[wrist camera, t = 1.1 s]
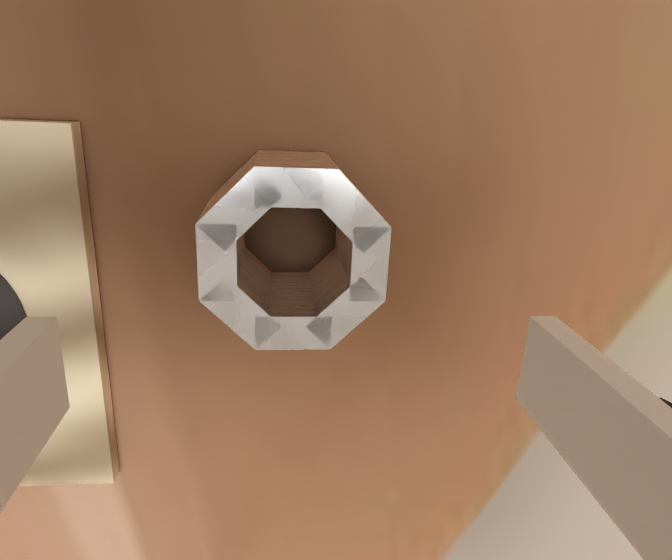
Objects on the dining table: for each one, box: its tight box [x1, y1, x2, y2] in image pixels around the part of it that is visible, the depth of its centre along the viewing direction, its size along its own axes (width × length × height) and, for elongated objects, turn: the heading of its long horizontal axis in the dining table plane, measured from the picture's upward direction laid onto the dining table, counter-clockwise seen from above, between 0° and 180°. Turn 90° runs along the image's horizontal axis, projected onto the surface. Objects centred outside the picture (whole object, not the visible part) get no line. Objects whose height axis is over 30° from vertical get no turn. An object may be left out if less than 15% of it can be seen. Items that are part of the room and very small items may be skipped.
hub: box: [195, 150, 392, 350], centre depth 25 cm, size 8×8×6 cm
